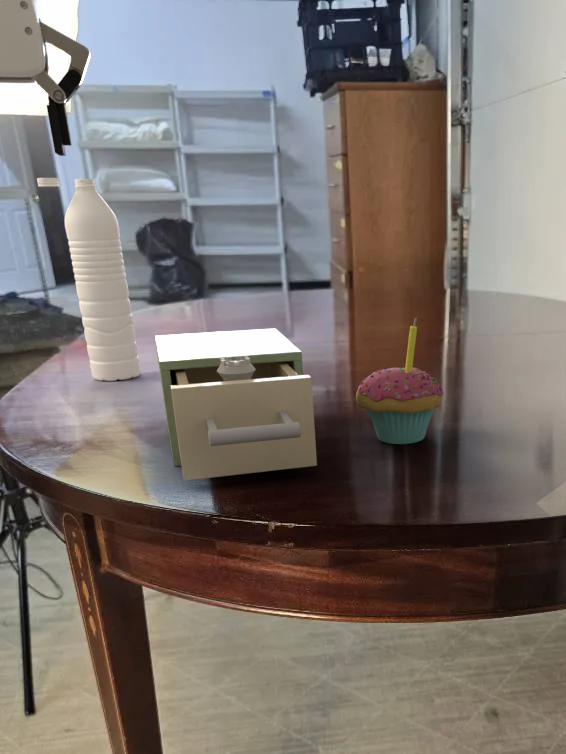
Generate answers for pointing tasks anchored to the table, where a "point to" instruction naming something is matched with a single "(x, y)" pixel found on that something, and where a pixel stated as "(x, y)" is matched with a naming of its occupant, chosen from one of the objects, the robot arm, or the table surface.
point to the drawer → (243, 421)
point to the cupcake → (400, 399)
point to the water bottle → (100, 283)
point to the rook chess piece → (236, 368)
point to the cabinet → (217, 359)
